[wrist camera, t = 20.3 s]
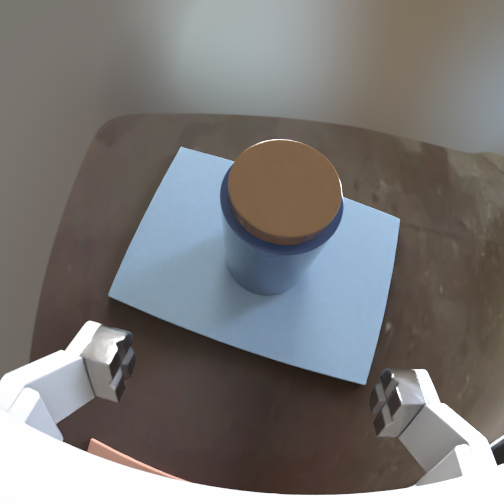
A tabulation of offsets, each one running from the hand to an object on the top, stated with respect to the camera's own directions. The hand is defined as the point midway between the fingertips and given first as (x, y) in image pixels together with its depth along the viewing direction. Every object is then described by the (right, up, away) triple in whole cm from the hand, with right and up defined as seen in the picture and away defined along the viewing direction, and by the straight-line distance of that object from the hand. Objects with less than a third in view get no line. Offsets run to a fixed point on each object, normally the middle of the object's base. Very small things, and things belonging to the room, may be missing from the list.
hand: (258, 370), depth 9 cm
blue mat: (+1, +3, +14) cm, 15 cm away
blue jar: (+1, +3, +14) cm, 14 cm away
